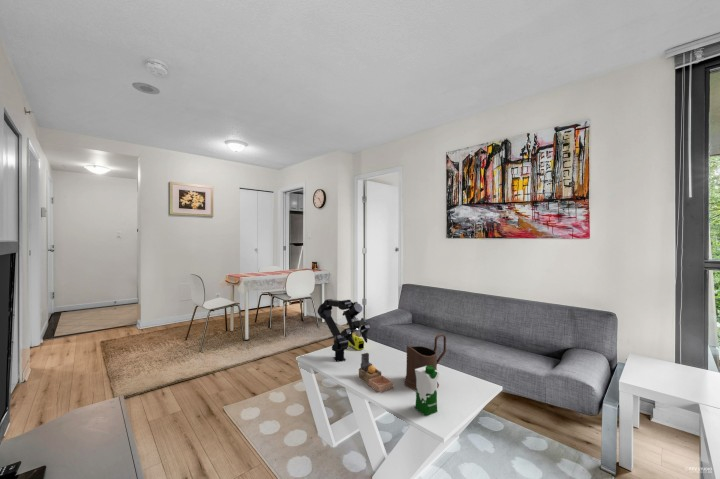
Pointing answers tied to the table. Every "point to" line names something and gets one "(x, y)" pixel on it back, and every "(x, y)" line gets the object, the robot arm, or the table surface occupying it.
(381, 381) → the pink square tray
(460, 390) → the table surface
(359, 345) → the yellow toy chassis
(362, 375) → the track
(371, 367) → the ball
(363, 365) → the plunger
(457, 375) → the table surface
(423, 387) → the milk carton
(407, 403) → the table surface
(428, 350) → the brown pitcher
